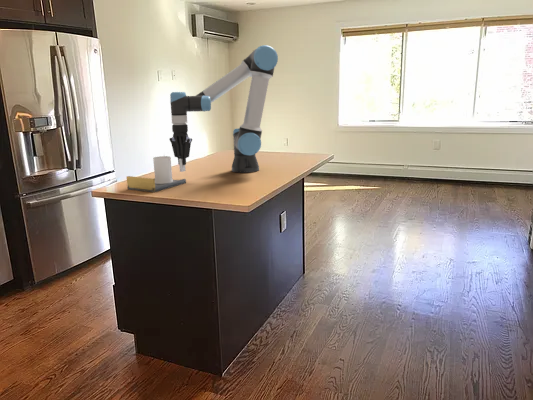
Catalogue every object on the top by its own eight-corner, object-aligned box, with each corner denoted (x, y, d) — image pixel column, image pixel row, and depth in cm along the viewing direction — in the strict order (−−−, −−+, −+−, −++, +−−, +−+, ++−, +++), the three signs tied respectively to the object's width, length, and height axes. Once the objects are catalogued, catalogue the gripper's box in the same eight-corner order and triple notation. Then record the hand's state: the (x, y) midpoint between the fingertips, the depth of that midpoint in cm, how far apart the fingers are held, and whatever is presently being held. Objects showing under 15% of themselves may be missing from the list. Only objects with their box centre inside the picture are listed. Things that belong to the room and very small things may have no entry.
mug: (165, 178, 215) (163, 154, 212) (180, 179, 212) (178, 155, 209) (151, 183, 204) (148, 158, 202) (166, 184, 201) (164, 159, 199)
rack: (186, 182, 209) (185, 170, 207) (153, 192, 190) (152, 179, 189) (161, 180, 217) (160, 168, 215) (127, 189, 198) (126, 176, 197)
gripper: (195, 123, 213) (197, 171, 218) (174, 123, 219) (177, 169, 225) (185, 124, 207) (188, 173, 212) (164, 124, 213) (167, 171, 218)
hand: (182, 171), depth 218 cm, fingers closed
